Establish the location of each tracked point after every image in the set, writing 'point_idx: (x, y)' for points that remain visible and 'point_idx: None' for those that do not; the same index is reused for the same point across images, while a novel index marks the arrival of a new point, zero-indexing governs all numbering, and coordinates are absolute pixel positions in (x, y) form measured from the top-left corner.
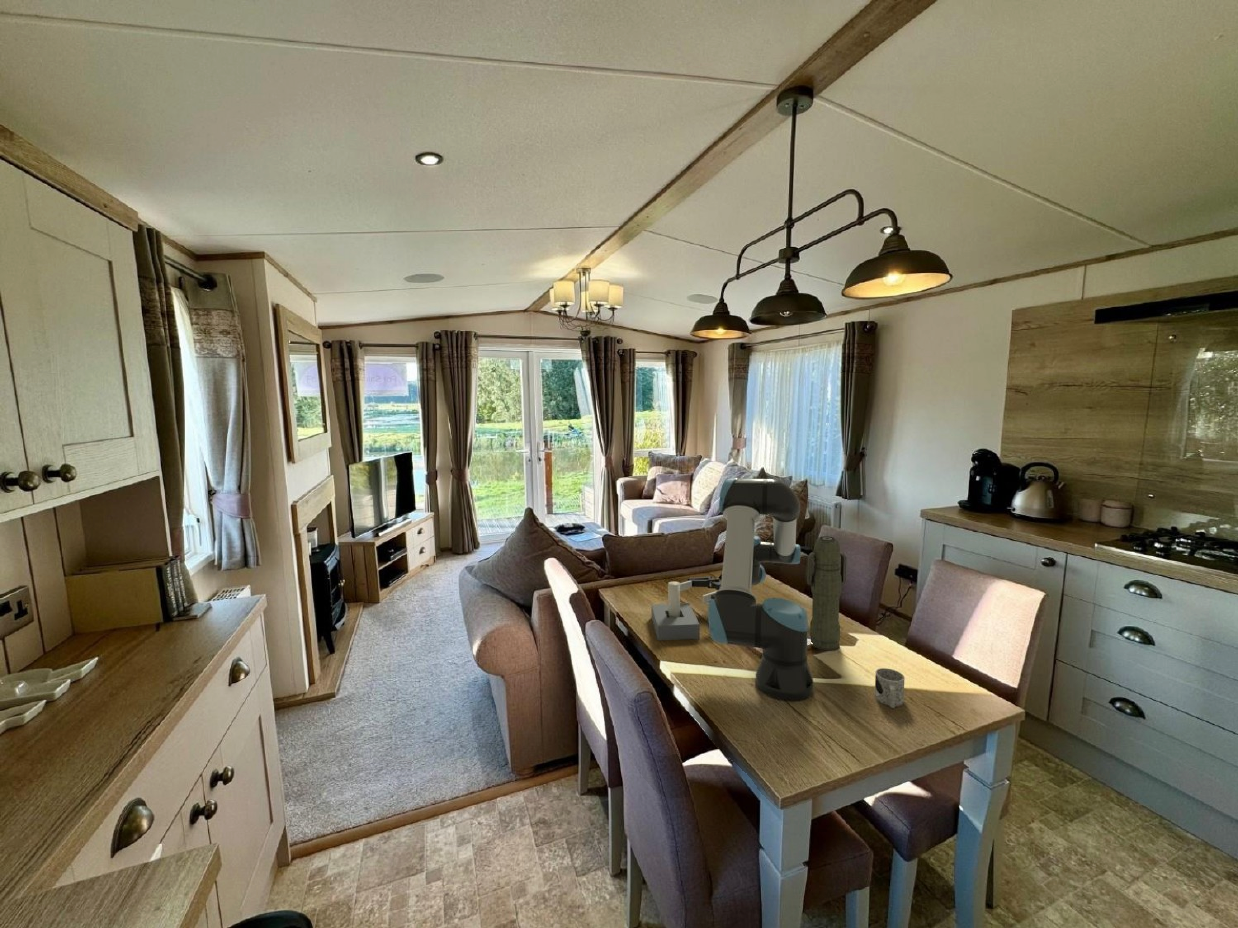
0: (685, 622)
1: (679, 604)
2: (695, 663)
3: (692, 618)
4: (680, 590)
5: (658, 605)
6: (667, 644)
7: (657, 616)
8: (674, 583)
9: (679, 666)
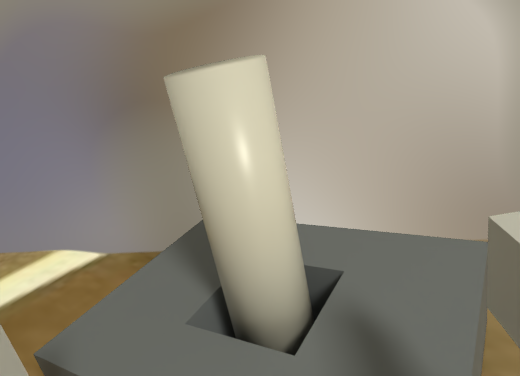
0: (127, 302)
1: (212, 246)
2: (4, 308)
3: (121, 357)
4: (506, 322)
5: (461, 268)
6: None
7: None
8: (213, 67)
9: (50, 270)
